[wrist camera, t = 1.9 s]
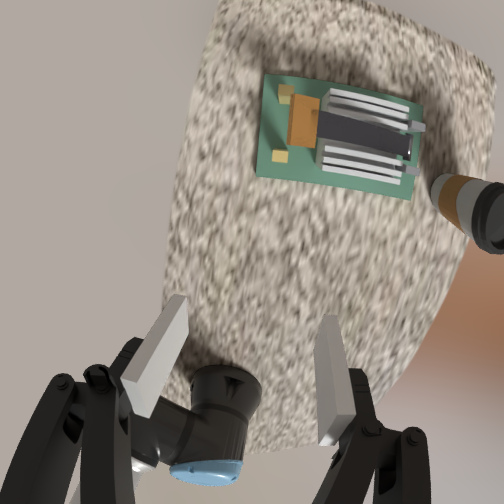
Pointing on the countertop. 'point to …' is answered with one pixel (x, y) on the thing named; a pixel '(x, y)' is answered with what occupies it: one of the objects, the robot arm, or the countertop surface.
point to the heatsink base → (307, 154)
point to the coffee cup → (472, 208)
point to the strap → (340, 129)
